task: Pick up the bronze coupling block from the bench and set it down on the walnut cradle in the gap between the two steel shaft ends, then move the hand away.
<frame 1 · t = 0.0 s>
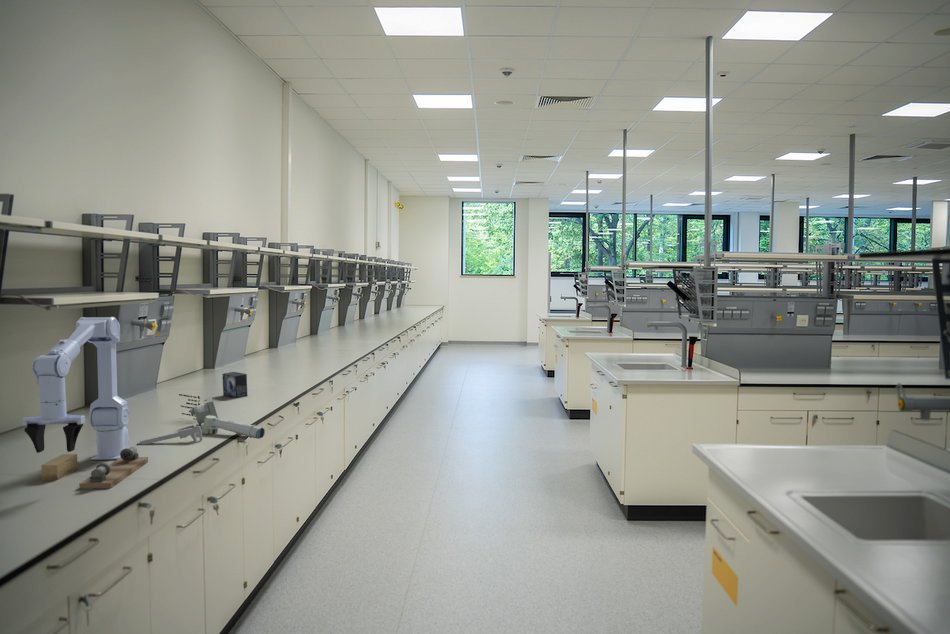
hand: (55, 451, 159), 10 cm above the worktop, tool pointing down, fingers open, 7 cm apart
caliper: (169, 443, 203), on the worktop
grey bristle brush: (199, 423, 230), on the worktop
shaft cradle: (116, 474, 171), on the worktop
coupling block: (60, 474, 171), on the worktop
small box: (235, 396, 278), on the worktop
blue-tipped grey rod: (232, 436, 212), on the worktop
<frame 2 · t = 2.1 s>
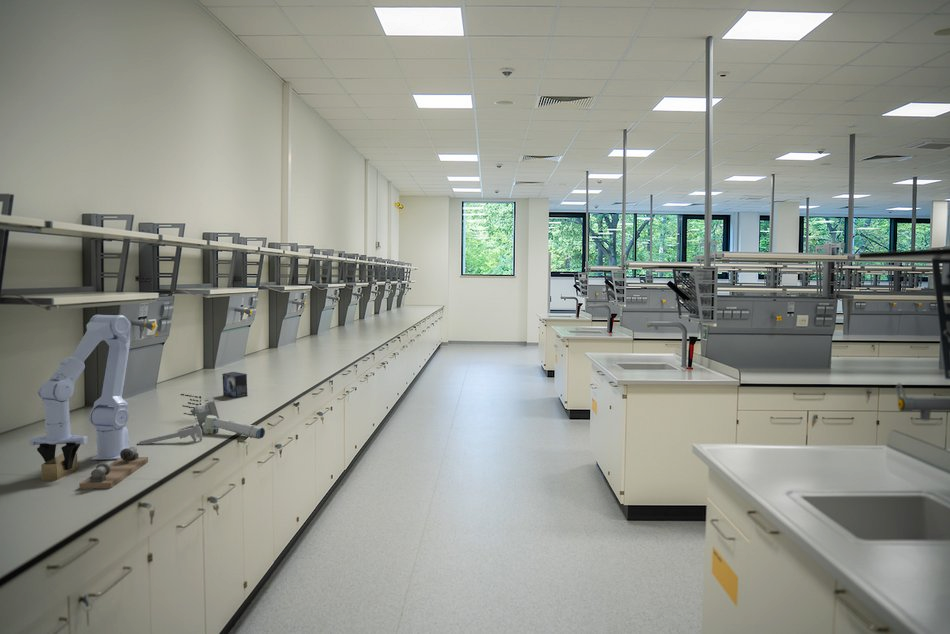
hand: (60, 469, 171), 1 cm above the worktop, tool pointing down, fingers closed on coupling block, 4 cm apart
coupling block: (60, 474, 171), on the worktop, touching gripper
everything else where it was.
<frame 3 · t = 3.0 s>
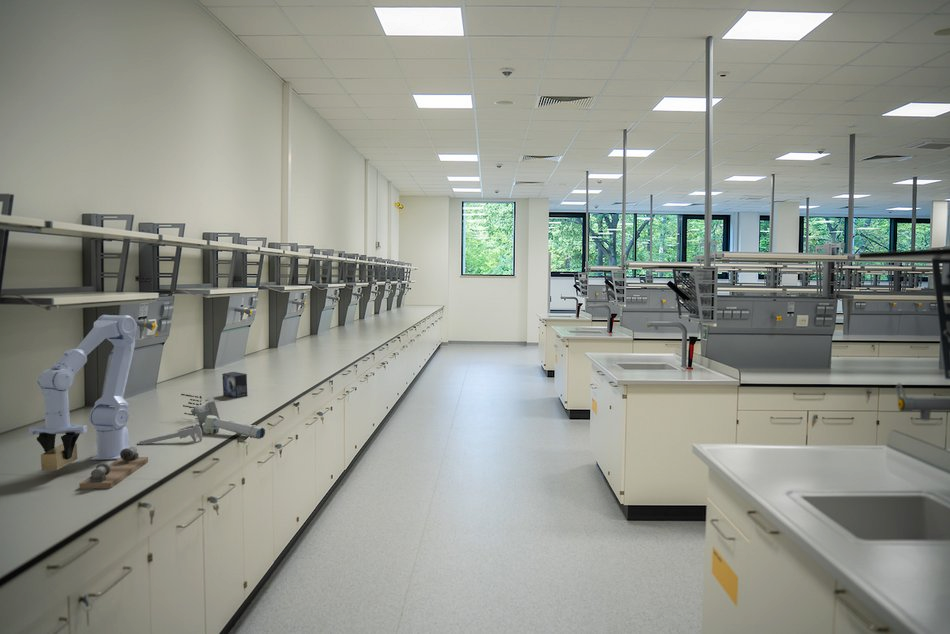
hand: (59, 458, 171), 4 cm above the worktop, tool pointing down, fingers closed on coupling block, 4 cm apart
coupling block: (60, 464, 171), point 3 cm above the worktop, touching gripper
everything else where it was.
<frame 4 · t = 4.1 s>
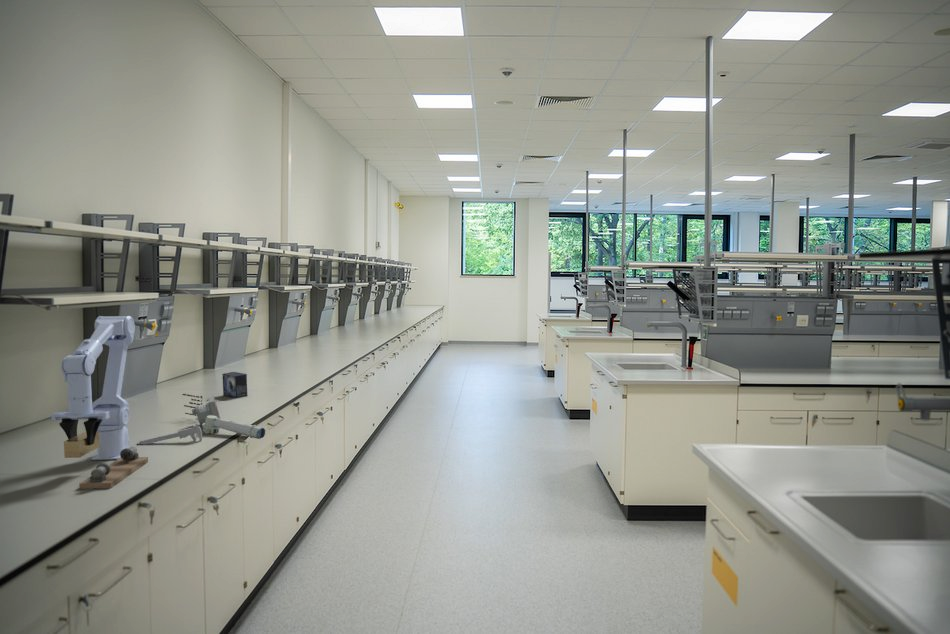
hand: (82, 444, 171), 9 cm above the worktop, tool pointing down, fingers closed on coupling block, 4 cm apart
coupling block: (82, 452, 171), point 6 cm above the worktop, touching gripper
everything else where it was.
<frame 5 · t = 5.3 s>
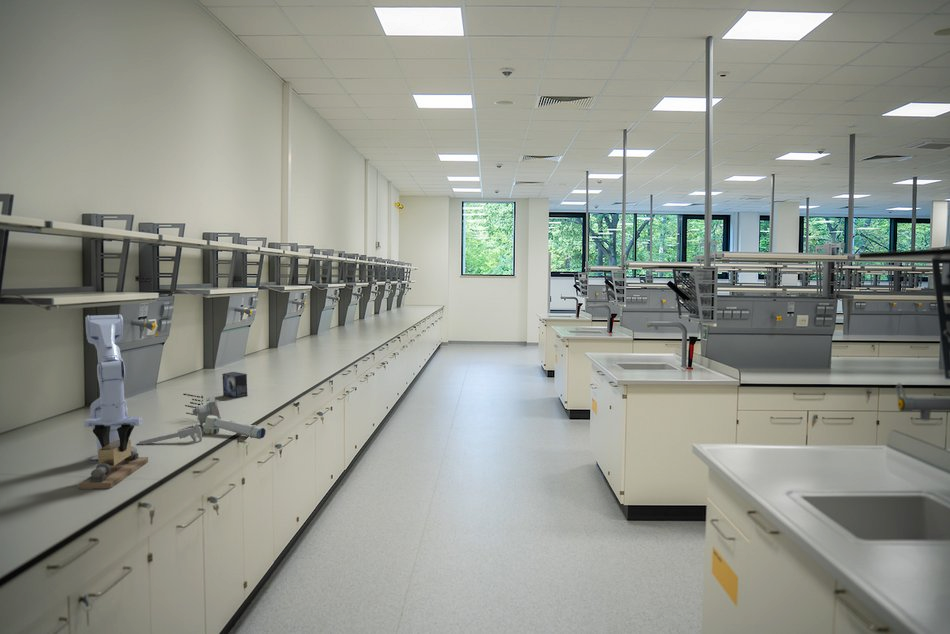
hand: (114, 451, 170), 7 cm above the worktop, tool pointing down, fingers closed on coupling block, 4 cm apart
coupling block: (115, 460, 171), point 4 cm above the worktop, touching gripper
when the fingers open (4 cm above the worktop, at t = 6.2 s): coupling block stays where it is, resting on shaft cradle.
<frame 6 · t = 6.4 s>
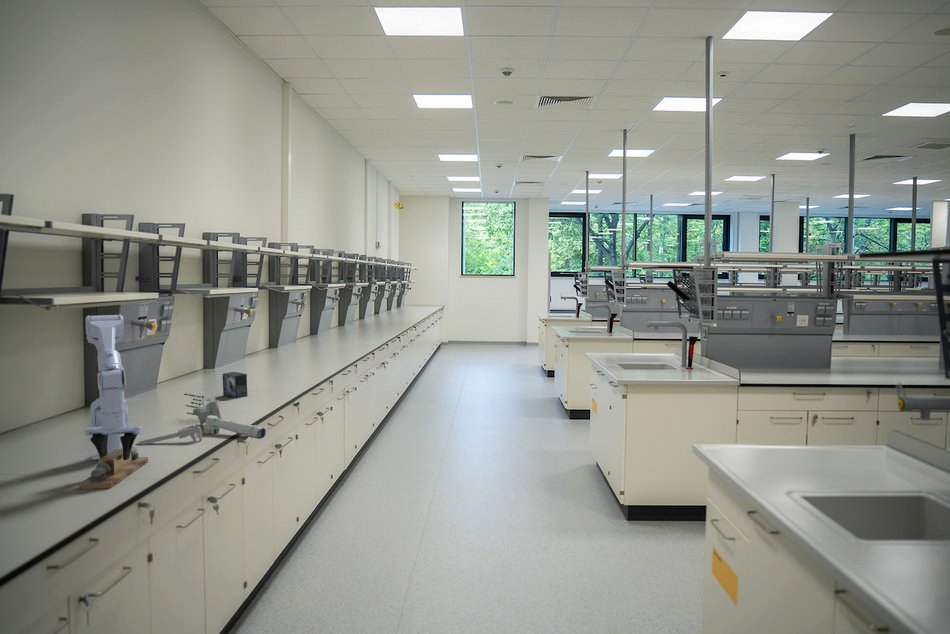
hand: (115, 459, 171), 4 cm above the worktop, tool pointing down, fingers open, 5 cm apart
coupling block: (115, 469, 171), point 1 cm above the worktop, touching shaft cradle
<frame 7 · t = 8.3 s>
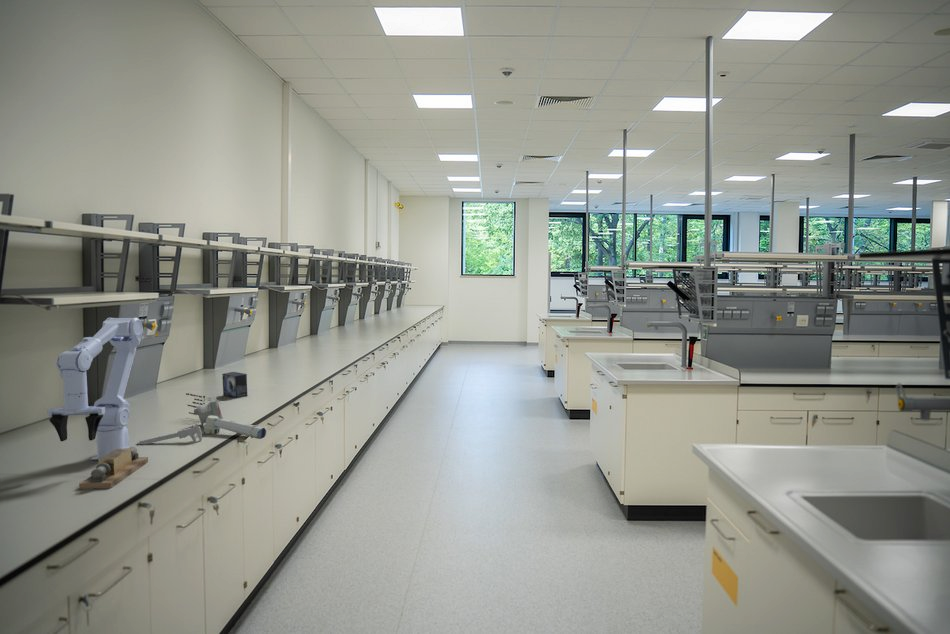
hand: (78, 439, 172), 9 cm above the worktop, tool pointing down, fingers open, 7 cm apart
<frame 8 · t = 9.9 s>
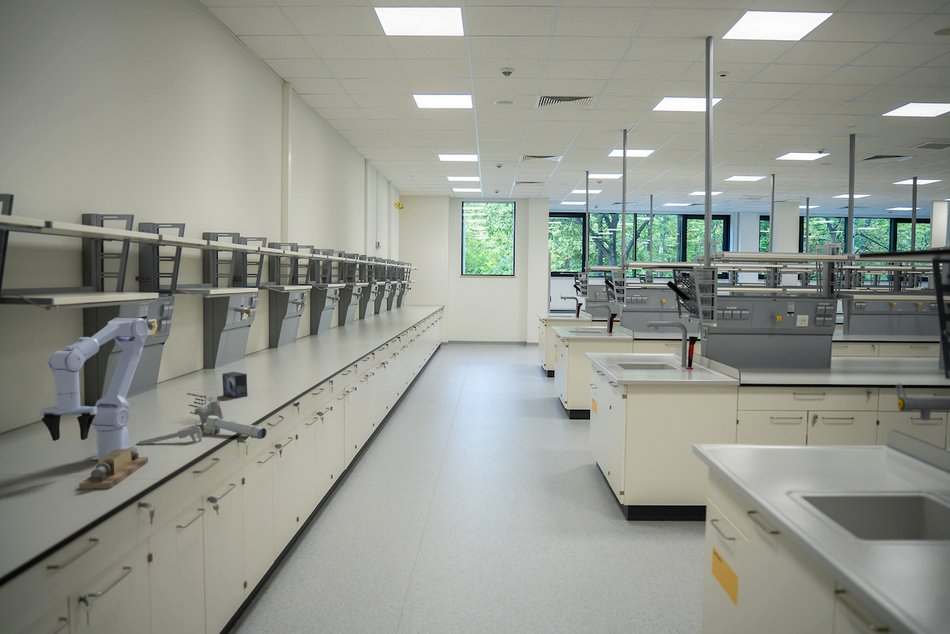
hand: (70, 439, 173), 9 cm above the worktop, tool pointing down, fingers open, 7 cm apart
at the end: coupling block 0.0 cm off-centre on the shaft cradle, point 1.5 cm above the shaft cradle's base; coupling block tilted 0°; the gripper is holding nothing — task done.
